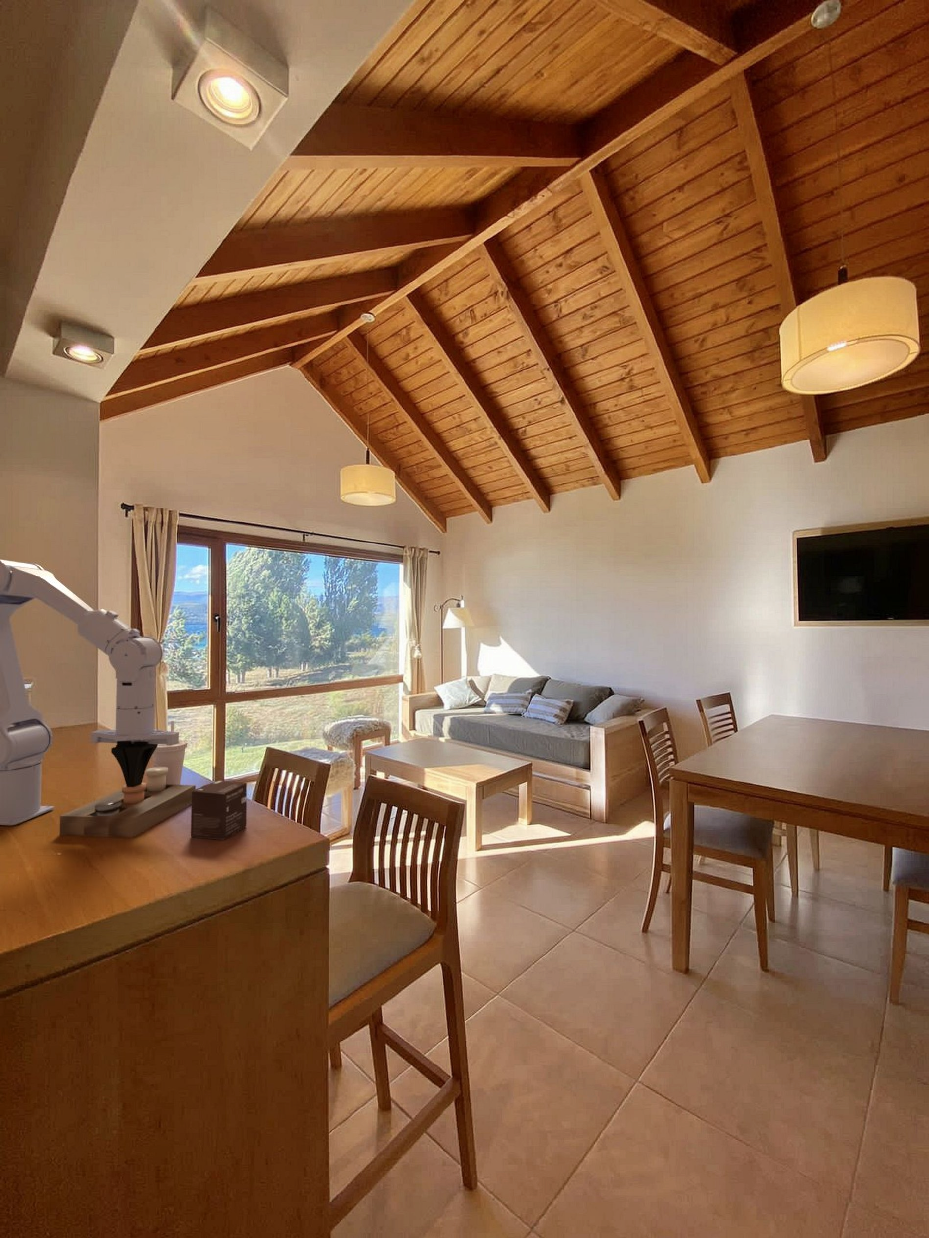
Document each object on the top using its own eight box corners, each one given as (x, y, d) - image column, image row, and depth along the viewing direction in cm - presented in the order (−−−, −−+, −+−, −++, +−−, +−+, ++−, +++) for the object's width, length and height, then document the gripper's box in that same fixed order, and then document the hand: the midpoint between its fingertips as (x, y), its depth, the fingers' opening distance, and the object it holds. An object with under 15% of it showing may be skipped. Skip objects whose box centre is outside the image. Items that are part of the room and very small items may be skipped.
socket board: (59, 834, 82) (60, 815, 82) (134, 799, 99) (134, 783, 99) (132, 837, 81) (133, 818, 81) (195, 801, 98) (195, 785, 98)
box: (223, 841, 80) (224, 793, 80) (189, 837, 82) (190, 790, 82) (247, 826, 86) (248, 782, 86) (215, 823, 87) (216, 779, 88)
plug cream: (140, 793, 94) (140, 771, 94) (153, 787, 98) (153, 766, 98) (159, 794, 94) (159, 772, 94) (171, 788, 98) (172, 766, 98)
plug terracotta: (116, 811, 88) (116, 788, 88) (131, 804, 92) (131, 781, 92) (136, 812, 88) (137, 788, 88) (150, 805, 92) (151, 782, 92)
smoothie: (193, 791, 104) (194, 720, 104) (160, 799, 99) (161, 725, 99) (175, 785, 107) (177, 717, 108) (142, 793, 102) (144, 722, 102)
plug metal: (88, 832, 82) (89, 806, 82) (105, 823, 86) (106, 799, 86) (110, 833, 82) (110, 807, 82) (126, 824, 86) (126, 800, 86)
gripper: (77, 709, 87) (75, 791, 86) (161, 711, 86) (159, 793, 86) (108, 703, 94) (107, 778, 93) (186, 704, 93) (185, 781, 93)
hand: (134, 785), depth 90 cm, fingers closed
